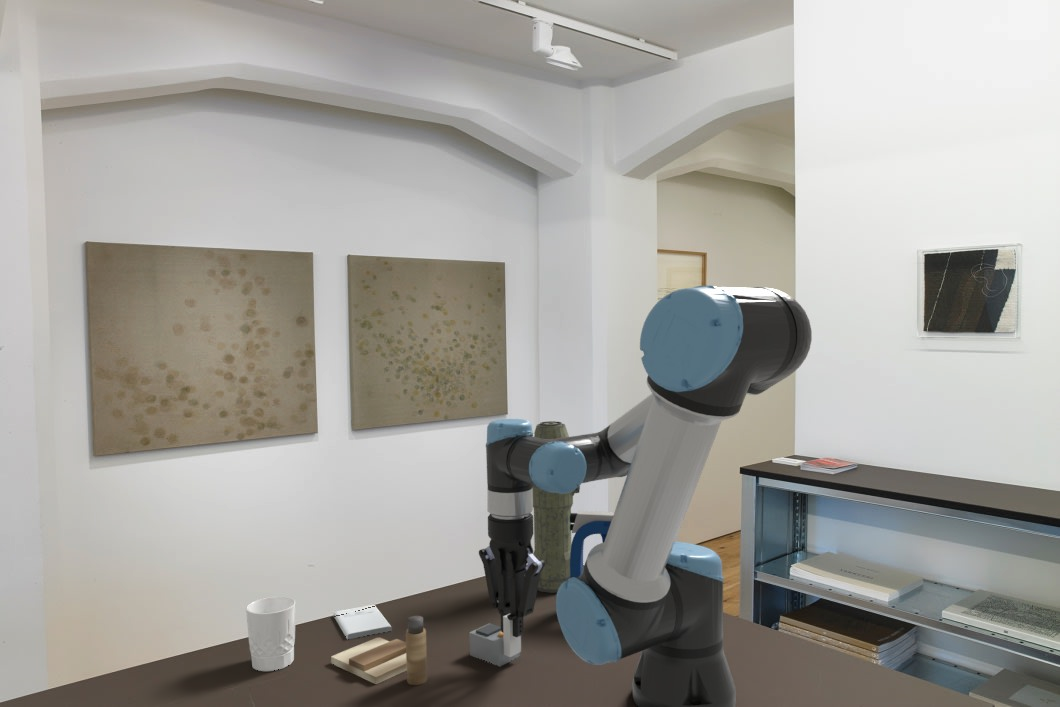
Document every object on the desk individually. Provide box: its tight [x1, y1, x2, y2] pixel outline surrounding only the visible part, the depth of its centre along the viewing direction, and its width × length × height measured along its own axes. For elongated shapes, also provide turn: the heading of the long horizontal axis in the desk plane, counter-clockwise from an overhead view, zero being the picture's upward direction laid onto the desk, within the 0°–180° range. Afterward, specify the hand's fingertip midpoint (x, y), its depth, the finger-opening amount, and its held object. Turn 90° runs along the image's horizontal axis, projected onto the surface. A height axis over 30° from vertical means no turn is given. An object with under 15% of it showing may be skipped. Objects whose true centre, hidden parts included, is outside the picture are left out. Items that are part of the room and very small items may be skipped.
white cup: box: [245, 596, 296, 672], centre depth 131 cm, size 8×8×10 cm
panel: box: [330, 636, 407, 685], centre depth 130 cm, size 12×10×2 cm
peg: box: [405, 615, 428, 686], centre depth 123 cm, size 3×3×10 cm
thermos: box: [533, 420, 581, 594], centre depth 165 cm, size 9×12×35 cm
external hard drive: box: [333, 604, 393, 641], centre depth 147 cm, size 2×8×12 cm
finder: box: [468, 622, 521, 667], centre depth 132 cm, size 7×5×4 cm
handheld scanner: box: [570, 510, 615, 578], centre depth 150 cm, size 5×16×20 cm, turn 79°
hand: (512, 653), depth 129 cm, fingers closed
